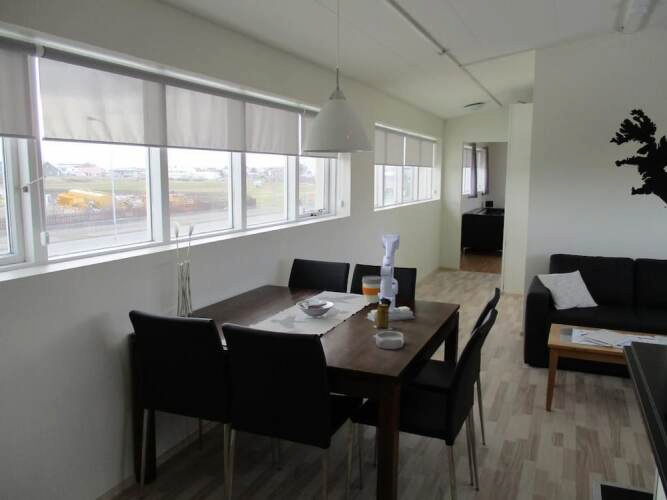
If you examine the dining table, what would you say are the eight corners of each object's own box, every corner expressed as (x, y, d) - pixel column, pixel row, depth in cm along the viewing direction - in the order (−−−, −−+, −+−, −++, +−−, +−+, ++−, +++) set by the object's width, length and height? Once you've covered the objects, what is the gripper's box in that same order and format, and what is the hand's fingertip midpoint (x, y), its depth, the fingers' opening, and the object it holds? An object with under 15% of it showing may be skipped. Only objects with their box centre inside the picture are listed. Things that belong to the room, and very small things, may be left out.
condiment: (384, 325, 287) (385, 302, 285) (393, 329, 279) (394, 306, 277) (372, 326, 283) (373, 304, 282) (381, 331, 276) (381, 307, 274)
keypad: (364, 317, 300) (364, 312, 300) (403, 312, 312) (404, 307, 311) (375, 323, 290) (375, 317, 289) (416, 317, 301) (416, 312, 301)
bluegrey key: (389, 313, 303) (389, 308, 302) (396, 312, 305) (396, 307, 304) (393, 315, 299) (393, 310, 298) (400, 314, 301) (400, 309, 300)
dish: (402, 340, 261) (402, 330, 260) (407, 350, 247) (407, 339, 246) (372, 340, 260) (372, 330, 260) (375, 350, 247) (375, 339, 246)
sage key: (370, 315, 297) (370, 310, 297) (377, 314, 299) (377, 309, 299) (374, 317, 293) (375, 312, 293) (381, 316, 295) (382, 311, 295)
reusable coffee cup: (385, 300, 340) (386, 277, 338) (375, 304, 329) (376, 280, 327) (367, 298, 346) (368, 274, 344) (357, 301, 336) (358, 277, 334)
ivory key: (398, 312, 305) (398, 307, 305) (405, 311, 307) (405, 306, 307) (402, 314, 301) (403, 309, 301) (409, 313, 303) (409, 308, 303)
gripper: (373, 285, 301) (372, 309, 303) (387, 290, 289) (386, 315, 291) (384, 284, 305) (383, 308, 307) (398, 289, 292) (397, 314, 294)
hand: (385, 311), depth 299 cm, fingers closed
